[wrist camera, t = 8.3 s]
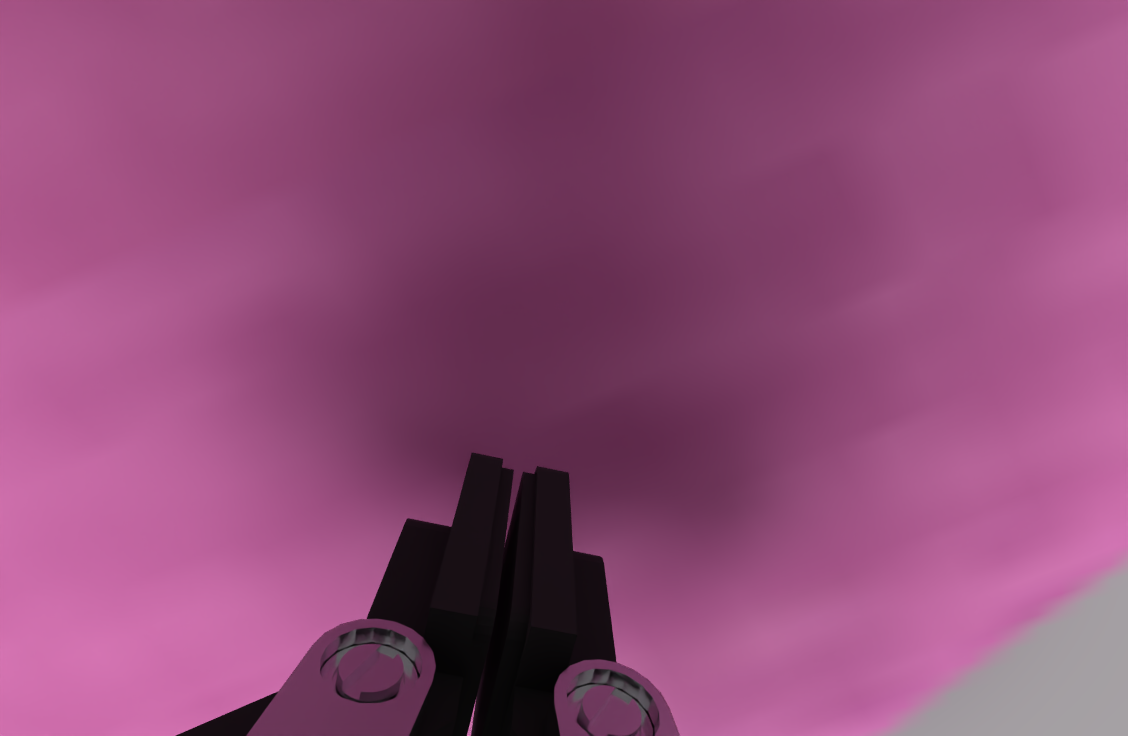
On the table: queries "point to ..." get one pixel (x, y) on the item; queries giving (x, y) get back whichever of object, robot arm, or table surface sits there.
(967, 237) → the table surface
